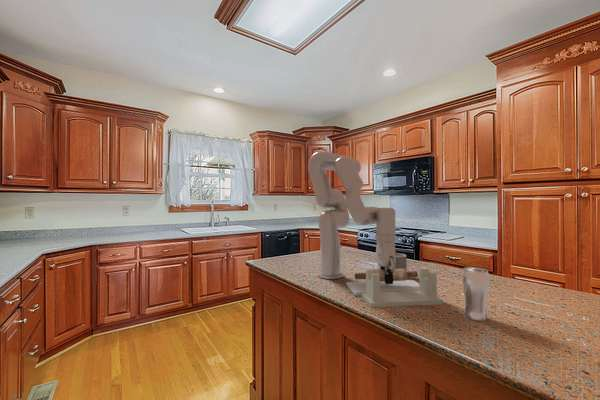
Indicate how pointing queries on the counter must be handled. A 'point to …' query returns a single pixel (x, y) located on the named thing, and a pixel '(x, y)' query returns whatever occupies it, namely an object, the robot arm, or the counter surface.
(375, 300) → the pin stand
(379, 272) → the rolling pin
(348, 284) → the pastry board
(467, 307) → the beer glass
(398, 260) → the coffee mug
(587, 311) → the counter surface
